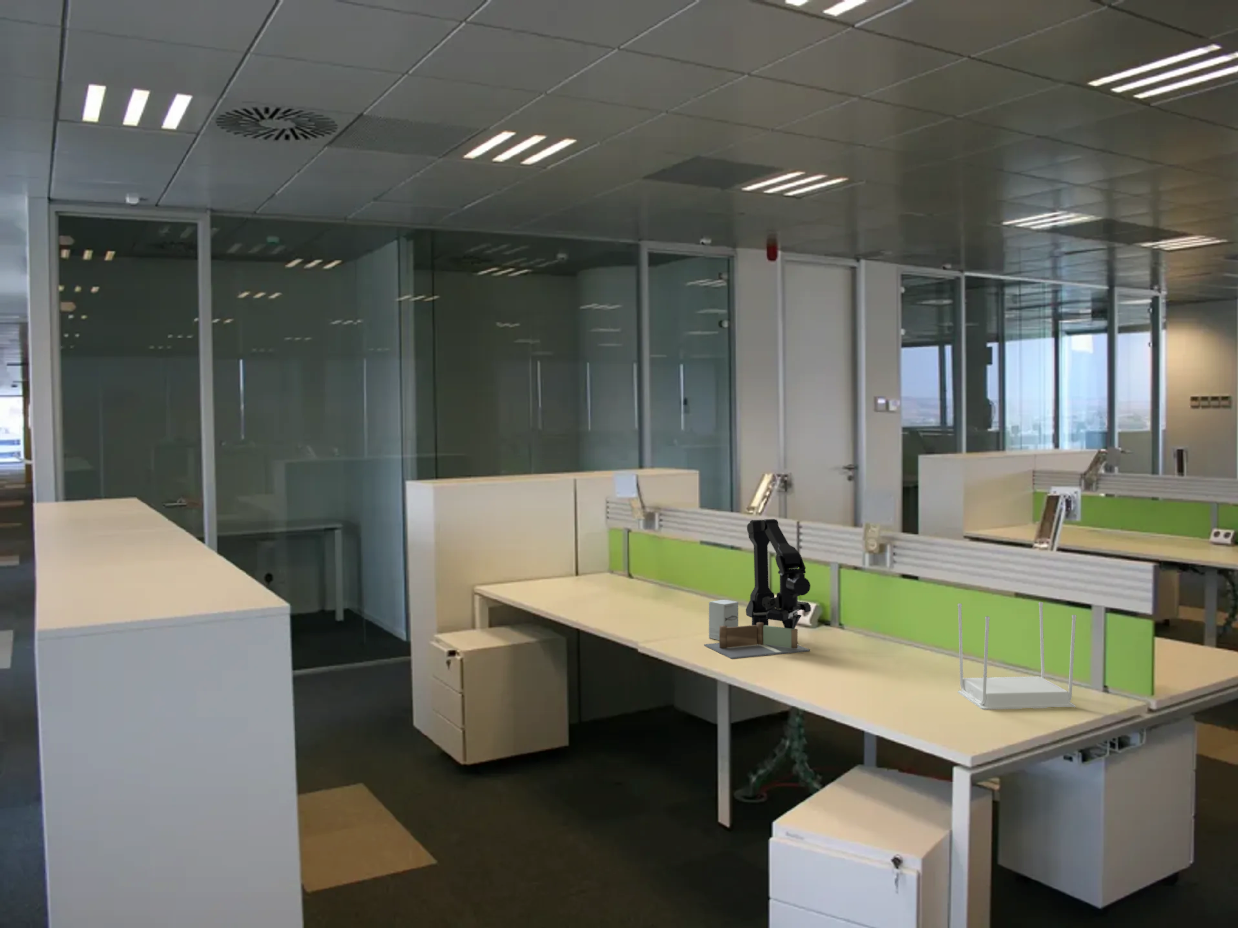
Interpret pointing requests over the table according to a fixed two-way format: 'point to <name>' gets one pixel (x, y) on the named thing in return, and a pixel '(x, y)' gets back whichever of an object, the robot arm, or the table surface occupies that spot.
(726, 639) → the fixed fence section
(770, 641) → the hinged fence panel
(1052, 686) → the router
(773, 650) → the card
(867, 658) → the table surface
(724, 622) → the supplement box
